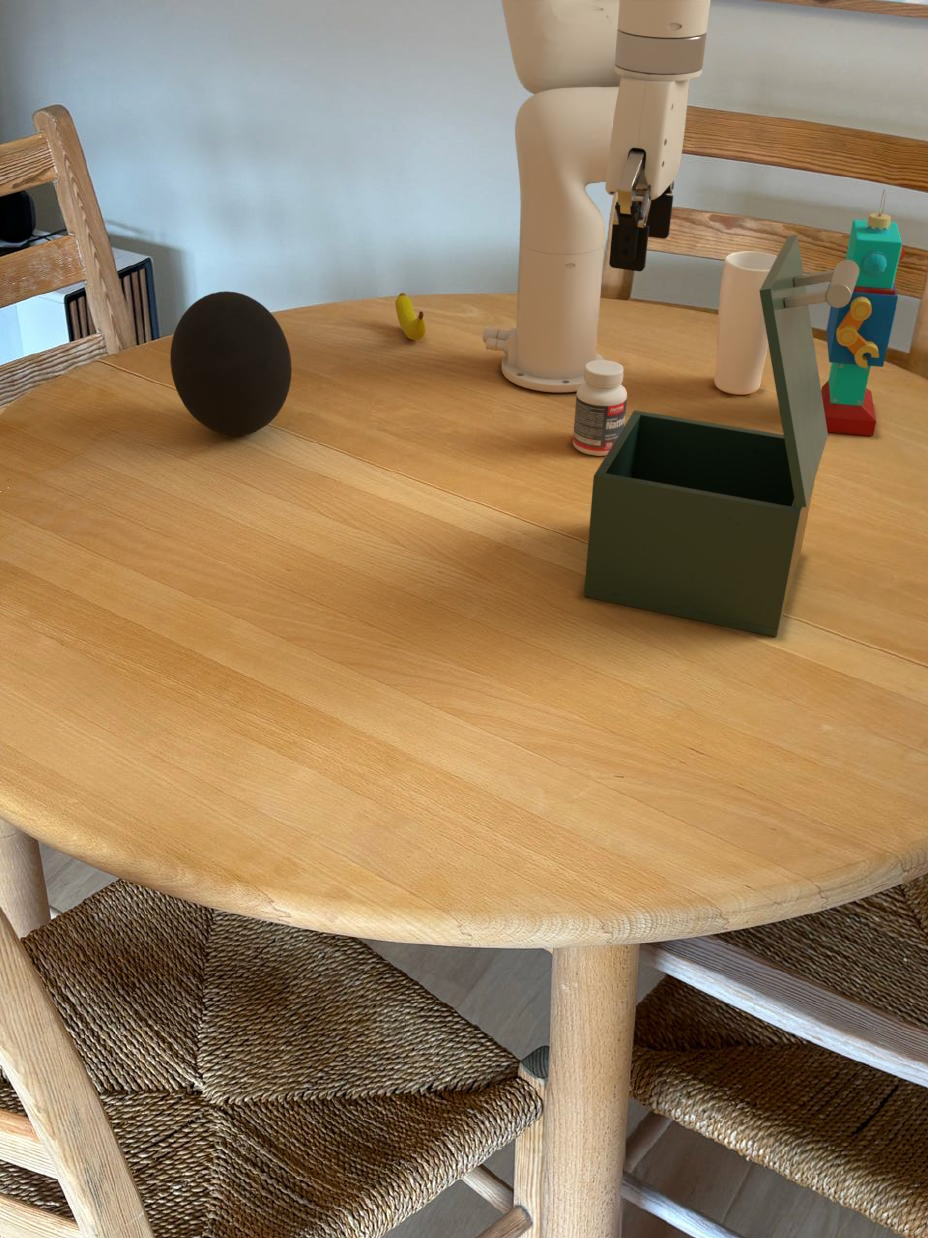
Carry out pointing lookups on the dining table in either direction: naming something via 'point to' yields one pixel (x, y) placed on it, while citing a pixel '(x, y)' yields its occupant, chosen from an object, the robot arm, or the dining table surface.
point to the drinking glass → (742, 323)
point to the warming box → (695, 523)
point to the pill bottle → (599, 408)
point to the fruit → (409, 318)
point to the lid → (800, 356)
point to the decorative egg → (230, 363)
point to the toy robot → (862, 325)
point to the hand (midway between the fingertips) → (639, 251)
